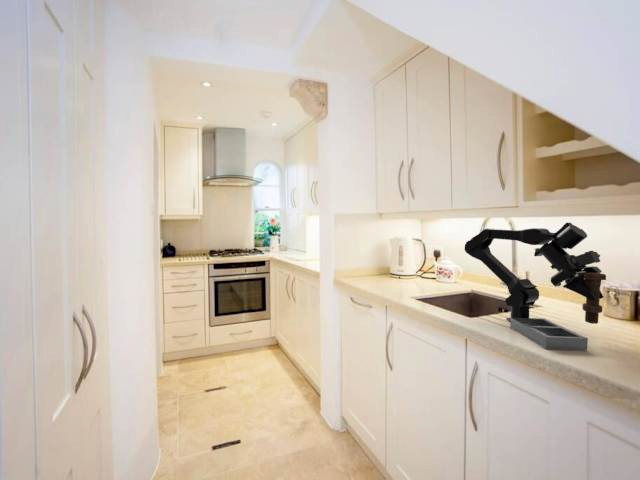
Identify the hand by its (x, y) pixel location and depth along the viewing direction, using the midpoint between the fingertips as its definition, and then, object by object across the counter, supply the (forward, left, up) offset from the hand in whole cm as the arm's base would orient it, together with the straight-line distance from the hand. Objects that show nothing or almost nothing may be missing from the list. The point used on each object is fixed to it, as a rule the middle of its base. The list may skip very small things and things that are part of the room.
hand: (598, 298), depth 97 cm
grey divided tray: (-3, -13, -13) cm, 19 cm away
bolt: (-1, -1, -8) cm, 8 cm away
